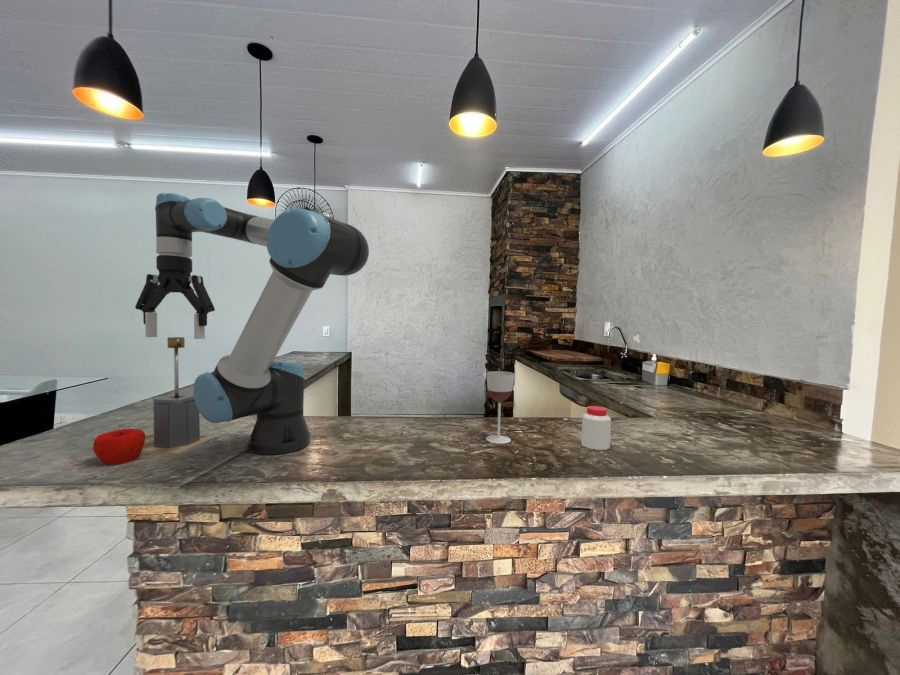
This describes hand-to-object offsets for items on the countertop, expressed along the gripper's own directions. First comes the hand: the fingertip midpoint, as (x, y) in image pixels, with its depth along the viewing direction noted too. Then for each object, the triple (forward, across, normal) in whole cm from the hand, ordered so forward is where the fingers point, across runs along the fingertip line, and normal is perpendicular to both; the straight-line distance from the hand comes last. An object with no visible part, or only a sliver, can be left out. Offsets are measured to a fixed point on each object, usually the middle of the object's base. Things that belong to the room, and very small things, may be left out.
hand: (175, 338), depth 97 cm
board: (+29, +4, +1) cm, 29 cm away
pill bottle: (+29, -114, -19) cm, 119 cm away
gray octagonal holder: (+28, 0, -1) cm, 28 cm away
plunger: (+20, 0, 0) cm, 20 cm away
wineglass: (+29, -86, -20) cm, 93 cm away
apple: (+29, +2, +13) cm, 32 cm away
